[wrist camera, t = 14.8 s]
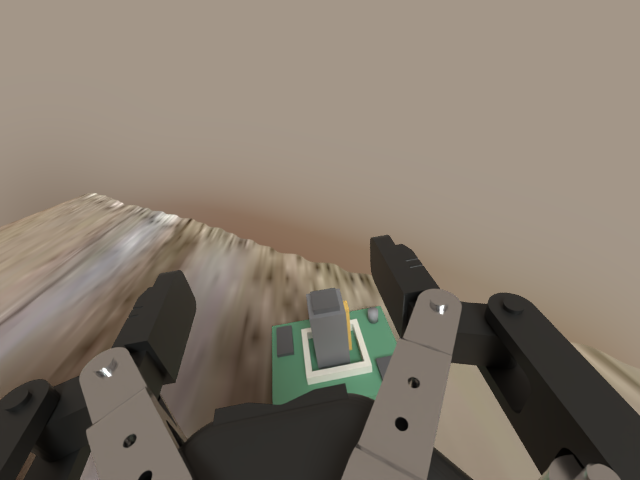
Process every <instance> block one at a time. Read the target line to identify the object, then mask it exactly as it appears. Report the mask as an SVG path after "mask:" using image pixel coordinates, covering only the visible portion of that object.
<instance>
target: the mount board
mask: <svg viewBox="0 0 640 480" xmlns="http://www.w3.org/2000/svg"><path fill="white" fill-rule="evenodd" d="M349 316H350V329H351V342H352V350H349V353H350V364H347V365H342V366H336V367H331V368H325V369H320V370H319V368H318V363H317V358H316V352H315V347H314V342H313V336H312V331H311V326H310V320H303V321H298V322H293V323H287V324H282V325H277V326H272V397H273V404H275V405H281V404H284V403H287V402H289V401H291V400H293V399H295V398H297V397H299V396H301V395H303V394H305V393H307V392H309V391H312V390H314V389H318V388H323V387H328V386H333V385H338V384H343V383H345V384H346V389H347V393H354V394H359V395H363V396H366V397H369V398H371V399H373V400H375V399H376V396H377V394H378V391H379V388H380V386H381V383H382V381H383V378H384V375H385V373H386V370H387V368H388V365H389V362H390V360H391V357H392V355H393V352H394V349H395V347H396V344H397V343H396V340H395V338H394V336H393V334H392V331H391V329H390V327H389V324H388V322H387V320H386V318H385V315H384V313H383V311H382V308H381V306H378V307H370V308H367V309H362V310H357V311H351V312H349Z"/></svg>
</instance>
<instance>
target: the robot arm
mask: <svg viewBox="0 0 640 480" xmlns="http://www.w3.org/2000/svg"><path fill="white" fill-rule="evenodd" d="M370 262H371V272H372V277H373V280H374V282H375V284H376V286H377V288H378V291H379V293H380V295H381V297H382V299H383V302H384V304H385V306H386V308H387V310H388V312H389V315H390V317H391V319H392V321H393V323H394V326H395V328H396V330H397V332H398V334H399V336H400V338H399V340H398V342H397V344H396V347H395V349H394V352H393V355H392V357H391V360H390V362H389V365H388V368H387V370H386V373H385V375H384V378H383V381H382V383H381V386H380V388H379V391H378V394H377V396H376V399H375V400H373V399H371V398H369V397H366V396H363V395H359V394H354V393H347V389H346V384H345V383H343V384H338V385H333V386H328V387H323V388H318V389H314V390H312V391H309V392H307V393H305V394H303V395H301V396H299V397H297V398H295V399H293V400H291V401H289V402H287V403H284V404H281V405H275V404H260V403H244V404H239V405H234V406H229V407H224V408H219V409H215V415H214V421H213V422H211V423H209V424H207V425H206V426H204V427H202V428H201V429H200V430H198V431H197V432H196V433H194V434H193V435H192V436H191V437H190V438H189V439H188V440H187V439H186V437H185V435H184V434H183V432H182V431H181V429H180V427H179V425H178V423H177V422H176V420H175V418H174V416H173V415H172V413H171V411H170V409H169V408H168V406H167V404H166V402H165V400H164V399H163V397H162V396H161V394H160V391H161V388H162V385H165V384H170V383H175V382H176V378H177V375H178V371H179V368H180V364H181V361H182V357H183V354H184V351H185V347H186V344H187V340H188V337H189V333H190V330H191V326H192V323H193V319H194V316H195V312H196V301H195V297H194V295H193V293H192V291H191V288H190V286H189V284H188V282H187V280H186V278H185V276H184V274H183V272H182V271H181V270H177V271H171V272H166V273H161V274H159V276H158V278H157V280H156V282H155V284H154V286H153V287H150V288H148V289H147V290H146V291H145V292H144V293H143V294H142V295H141V296H140V297H139V298H138V300H137V301H136V303H135V305H134V307H133V310H132V311H131V313H130V314H129V318H127V320H126V322H125V324H124V326H123V327H122V329H121V331H120V333H119V335H118V337H117V339H116V340H115V342H114V344H113V346H112V348H111V349H108V350H106V351H104V352H102V353H100V354H98V355H97V356H95V357H94V358H93V359H92V360H91V361H90V362H88V364H87V365H86V366H85V367H84V368H83V370H82V372H81V374H80V376H77V377H75V378H73V379H70V380H68V381H66V382H63V383H61V384H59V385H57V386H54V387H53V386H51V385H50V384H49V383H48V382H47V381H46V380H42V379H38V380H33V381H30V382H27V383H25V384H23V385H21V386H19V387H17V388H15V389H14V390H12V391H11V392H10V393H8V394H7V395H6V396H5V397H3V398H2V399H1V400H0V480H15V479H16V477H17V475H18V474H19V472H20V470H21V468H22V466H23V465H24V463H25V461H26V459H27V457H28V455H29V454H30V452H32V453H34V454H35V455H36V457H35V459H34V461H33V463H32V465H31V467H30V468H29V470H28V472H27V474H26V476H25V478H24V480H80V477H81V475H82V472H83V470H84V467H85V465H86V462H87V460H88V457H89V455H90V452H92V456H93V460H94V463H95V467H96V470H97V474H98V477H99V480H473V479H472V478H471V477H469V476H468V475H467V474H466V473H464V472H463V471H462V470H461V469H460V468H458V467H457V466H456V465H455V464H454V463H452V462H451V461H450V460H449V459H448V458H446V457H445V456H444V455H443V454H442V453H440V452H439V451H438V450H437V449H436V448H434V442H435V437H436V432H437V428H438V423H439V418H440V413H441V408H442V403H443V398H444V394H445V389H446V384H447V379H448V374H449V369H450V364H451V363H459V364H468V365H477V367H478V368H479V370H480V372H481V374H482V375H483V377H484V379H485V380H486V382H487V384H488V385H489V387H490V389H491V390H492V392H493V394H494V396H495V397H496V399H497V401H498V402H499V404H500V406H501V407H502V409H503V411H504V413H505V414H506V416H507V418H508V419H509V421H510V423H511V424H512V426H513V428H514V429H515V431H516V433H517V435H518V436H519V438H520V440H521V441H522V443H523V445H524V446H525V448H526V450H527V451H528V453H529V455H530V457H531V458H532V460H533V462H534V463H535V465H536V467H537V468H538V470H539V472H540V474H541V475H542V476H541V477H540V478H539V480H640V415H639V414H638V413H637V412H636V411H635V410H634V409H633V408H632V407H631V406H630V405H629V404H628V403H627V402H626V401H625V400H624V399H623V398H622V397H621V396H620V395H619V393H618V392H617V391H616V390H615V389H614V388H613V387H612V386H611V385H610V384H609V383H608V382H607V381H606V380H605V379H604V378H603V377H602V376H601V375H600V374H599V373H598V372H597V370H596V369H595V368H594V367H593V366H592V365H591V364H590V363H589V362H588V361H587V360H586V359H585V358H584V357H583V356H582V355H581V354H580V353H579V352H578V351H577V350H576V348H575V347H574V346H573V345H572V344H571V343H570V342H569V341H568V340H567V339H566V338H565V337H564V336H563V335H562V334H561V333H560V332H559V331H558V330H557V329H556V328H555V327H554V325H552V323H551V322H550V321H549V320H548V319H547V318H546V317H545V316H544V315H543V314H542V313H541V312H540V311H539V310H538V309H537V308H536V307H535V306H534V305H533V304H532V303H531V302H530V301H528V300H527V299H525V298H523V297H521V296H519V295H515V294H511V293H497V294H494V295H493V296H491V297H490V298H489V300H488V303H487V304H481V303H467V302H461V301H460V300H459V299H458V298H457V297H456V296H455V295H454V294H452V293H450V292H448V291H445V290H442V289H440V288H439V287H438V285H437V284H436V282H435V281H434V280H433V278H432V277H431V276H430V274H429V273H428V271H427V270H426V269H425V267H424V266H422V263H421V262H420V260H418V258H417V256H416V255H415V253H414V252H413V251H412V250H411V249H409V248H408V247H406V246H405V245H403V244H399V245H395V244H394V242H393V241H392V239H391V237H390V236H389V235H384V236H378V237H373V238H371V239H370Z"/></svg>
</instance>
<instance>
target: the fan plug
mask: <svg viewBox="0 0 640 480" xmlns="http://www.w3.org/2000/svg"><path fill="white" fill-rule="evenodd" d="M306 297H307V305H308V313H309V320H310V326H311V331H312V336H313V342H314V347H315V352H316V358H317V363H318V368H319V370H320V369H325V368H331V367H336V366H342V365H347V364H350V353H349V350H352V342H351V329H350V316H349V308H348V305H347V301H343V300H342V297H341V293H340V289H335V288H330V289H325V290H319V291H313V292H310V294H306Z"/></svg>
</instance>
